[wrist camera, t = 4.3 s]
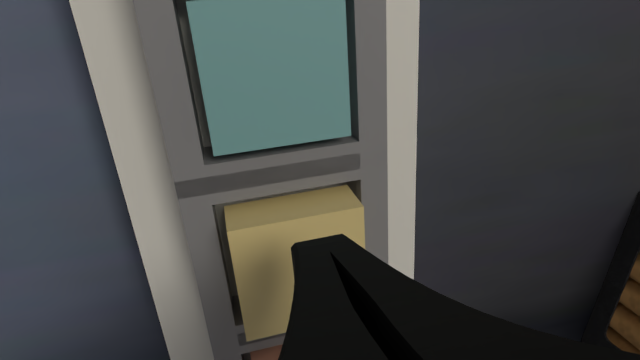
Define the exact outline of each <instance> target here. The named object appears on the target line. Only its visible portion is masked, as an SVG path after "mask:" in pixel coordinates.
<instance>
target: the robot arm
mask: <svg viewBox="0 0 640 360" xmlns="http://www.w3.org/2000/svg"><path fill="white" fill-rule="evenodd" d="M291 255H292V263H293V272H294V293H293V300H292V306H291V312H290V317H289V322H288V326H287V330H286V334H285V338H284V342H283V345H282V348H281V352H280V355H279V358H278V360H640V354H636V353H631V352H626V351H621V350H617V349H612V348H607V347H602V346H597V345H592V344H587V343H583V342H578V341H574V340H570V339H566V338H563V337H559V336H555V335H552V334H548V333H544V332H540V331H537V330H534V329H530V328H527V327H524V326H521V325H517V324H514V323H511V322H509V321H506V320H503V319H500V318H497V317H495V316H492V315H489V314H486V313H483V312H481V311H478V310H476V309H473V308H471V307H468V306H466V305H464V304H462V303H459V302H457V301H455V300H453V299H451V298H448V297H446V296H444V295H442V294H440V293H438V292H436V291H434V290H432V289H430V288H428V287H426V286H424V285H422V284H421V283H419V282H417V281H415V280H413V279H411V278H410V277H408V276H406V275H404V274H403V273H401V272H399V271H398V270H396V269H394V268H393V267H391V266H390V265H388V264H387V263H385V262H383V261H382V260H380V259H379V258H377V257H376V256H374V255H373V254H371V253H370V252H368V251H367V250H366V249H364V248H363V247H361V246H360V245H358V244H357V243H355V242H354V241H353V240H351V239H350V238H348V237H347V236H345V235H344V234H338V235H332V236H327V237H322V238H317V239H312V240H307V241H302V242H297V243H294V244H293V246H292V247H291Z"/></svg>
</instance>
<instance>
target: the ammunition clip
mask: <svg viewBox="0 0 640 360" xmlns="http://www.w3.org/2000/svg"><path fill="white" fill-rule="evenodd" d="M581 341H582V342H583V343H587V344H592V345H597V346H602V347H607V348H612V349H617V350H621V351H626V352H631V353H636V354H640V192H638V195H637V198H636V200H635V203H634V205H633V208H632V210H631V213H630V216H629V218H628V221H627V223H626V226H625V228H624V231H623V234H622V236H621V239H620V241H619V244H618V246H617V249H616V252H615V254H614V257H613V259H612V262H611V264H610V267H609V270H608V272H607V275H606V277H605V280H604V282H603V285H602V288H601V290H600V293H599V295H598V298H597V300H596V303H595V306H594V308H593V311H592V313H591V316H590V318H589V321H588V324H587V326H586V329H585V331H584V334H583V336H582V339H581Z"/></svg>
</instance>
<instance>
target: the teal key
mask: <svg viewBox="0 0 640 360" xmlns="http://www.w3.org/2000/svg"><path fill="white" fill-rule="evenodd" d="M186 6H187V12H188V17H189V23H190V28H191V34H192V39H193V45H194V50H195V56H196V61H197V67H198V72H199V78H200V83H201V89H202V94H203V100H204V105H205V111H206V116H207V122H208V127H209V133H210V138H211V144H212V149H213V155H214V156H220V155H227V154H234V153H240V152H247V151H254V150H260V149H267V148H273V147H280V146H287V145H293V144H300V143H307V142H313V141H320V140H326V139H333V138H340V137H346V136H351V117H350V94H349V71H348V48H347V25H346V3H345V0H187V1H186Z"/></svg>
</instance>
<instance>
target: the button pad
mask: <svg viewBox="0 0 640 360" xmlns="http://www.w3.org/2000/svg"><path fill="white" fill-rule="evenodd" d="M186 1H187V0H69V2H70V5H71V9H72V13H73V16H74V20H75V23H76V27H77V30H78V34H79V37H80V41H81V44H82V48H83V51H84V55H85V59H86V62H87V66H88V69H89V73H90V76H91V80H92V83H93V87H94V90H95V94H96V97H97V101H98V105H99V108H100V112H101V115H102V119H103V122H104V126H105V129H106V133H107V136H108V140H109V144H110V147H111V151H112V154H113V158H114V161H115V165H116V168H117V172H118V175H119V179H120V182H121V186H122V190H123V193H124V197H125V200H126V204H127V207H128V211H129V214H130V218H131V221H132V225H133V229H134V232H135V236H136V239H137V243H138V246H139V250H140V253H141V257H142V260H143V264H144V267H145V271H146V275H147V278H148V282H149V285H150V289H151V292H152V296H153V299H154V303H155V306H156V310H157V314H158V317H159V321H160V324H161V328H162V331H163V335H164V338H165V342H166V345H167V349H168V352H169V356H170V360H251V355H250V352H252V351H256V350H261V349H265V348H269V347H273V346H277V345H281V344H283V342H284V338H285V334H286V333H281V334H277V335H273V336H269V337H264V338H260V339H256V340H252V341H247V340H246V335H245V329H244V324H243V318H242V313H241V307H240V302H239V296H238V291H237V285H236V280H235V274H234V269H233V263H232V258H231V252H230V247H229V241H228V236H227V230H226V221H225V212H224V206H227V205H233V204H239V203H245V202H250V201H256V200H262V199H268V198H273V197H279V196H285V195H291V194H296V193H302V192H308V191H314V190H320V189H325V188H331V187H337V186H343V185H348V186H349V188H350V189H351V190H352V192H353V193H354V194H355V196H356V197H357V198H358V200H359V201H360V202H361V204H362V205H363V206H364V226H365V249H366V250H367V251H368V252H370V253H371V254H373V255H374V256H376V257H377V258H379V259H380V260H382V261H383V262H385V263H387V264H388V265H390V266H391V267H393V268H394V269H396V270H398V271H399V272H401V273H403V274H404V275H406V276H408V277H410V278H411V279H413V280H414V241H415V192H416V143H417V95H418V46H419V0H345V3H346V25H347V48H348V71H349V94H350V117H351V136H346V137H340V138H333V139H326V140H320V141H313V142H307V143H300V144H293V145H287V146H280V147H273V148H267V149H260V150H254V151H247V152H240V153H234V154H227V155H220V156H214V155H213V149H212V144H211V138H210V133H209V127H208V122H207V116H206V111H205V105H204V100H203V94H202V89H201V83H200V78H199V72H198V67H197V61H196V56H195V50H194V45H193V39H192V34H191V28H190V23H189V17H188V12H187V6H186Z"/></svg>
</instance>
